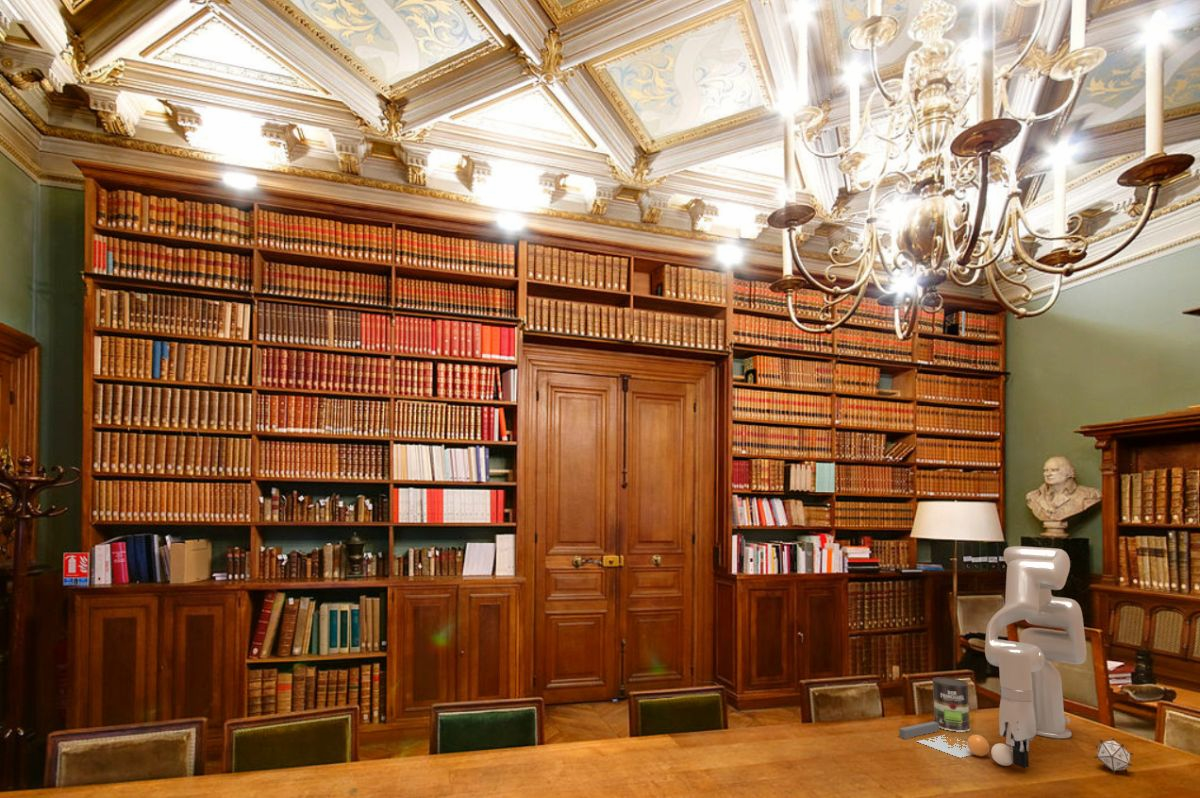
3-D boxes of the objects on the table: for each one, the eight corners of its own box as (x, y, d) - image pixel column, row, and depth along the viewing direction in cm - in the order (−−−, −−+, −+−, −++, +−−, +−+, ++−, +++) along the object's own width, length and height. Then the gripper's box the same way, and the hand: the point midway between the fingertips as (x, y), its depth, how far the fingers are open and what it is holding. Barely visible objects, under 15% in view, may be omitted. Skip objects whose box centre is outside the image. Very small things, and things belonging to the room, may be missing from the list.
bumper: (933, 729, 212) (932, 721, 212) (939, 731, 210) (938, 723, 211) (899, 737, 205) (899, 728, 205) (905, 739, 203) (904, 730, 203)
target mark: (945, 735, 207) (945, 734, 207) (990, 750, 195) (990, 749, 195) (916, 742, 201) (916, 741, 201) (959, 758, 188) (959, 757, 188)
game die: (1125, 788, 180) (1146, 765, 175) (1091, 773, 182) (1111, 749, 177) (1115, 760, 187) (1135, 738, 183) (1082, 746, 190) (1101, 723, 185)
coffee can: (972, 734, 208) (970, 687, 210) (936, 729, 212) (933, 683, 214) (968, 724, 218) (965, 679, 220) (933, 720, 221) (930, 675, 223)
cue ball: (1022, 761, 183) (1003, 764, 187) (1010, 739, 186) (993, 743, 189) (1012, 766, 180) (994, 769, 183) (1001, 744, 182) (983, 748, 186)
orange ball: (975, 750, 194) (974, 730, 195) (994, 757, 190) (992, 736, 190) (963, 753, 192) (962, 733, 193) (982, 760, 187) (980, 739, 188)
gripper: (1018, 687, 190) (1022, 756, 187) (986, 694, 183) (991, 765, 180) (1046, 694, 184) (1051, 765, 181) (1014, 701, 176) (1019, 775, 174)
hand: (1021, 765), depth 181 cm, fingers closed
